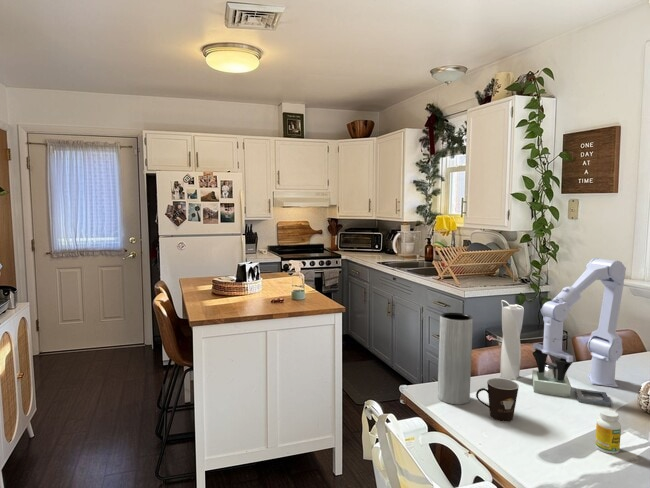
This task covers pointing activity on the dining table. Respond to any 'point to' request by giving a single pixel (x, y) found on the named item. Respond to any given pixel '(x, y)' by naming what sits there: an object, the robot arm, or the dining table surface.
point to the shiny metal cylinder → (550, 372)
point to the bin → (550, 385)
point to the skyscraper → (511, 341)
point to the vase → (455, 358)
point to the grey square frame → (603, 402)
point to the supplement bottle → (608, 432)
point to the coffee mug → (501, 398)
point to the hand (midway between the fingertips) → (550, 376)
